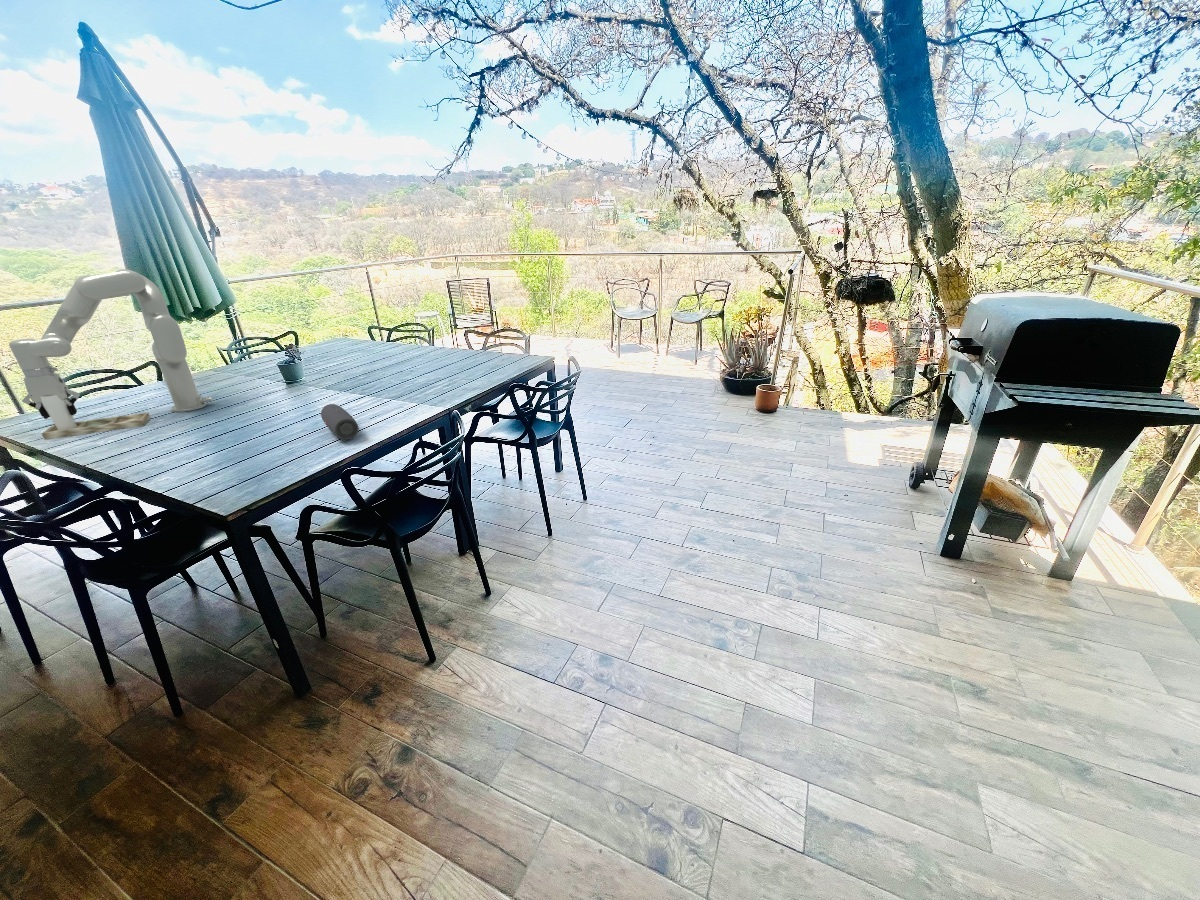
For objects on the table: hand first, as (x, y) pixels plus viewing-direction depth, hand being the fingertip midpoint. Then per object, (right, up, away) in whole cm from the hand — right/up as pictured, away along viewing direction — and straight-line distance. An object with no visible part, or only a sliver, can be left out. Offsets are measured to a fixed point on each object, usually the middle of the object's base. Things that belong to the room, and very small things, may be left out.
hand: (60, 415), depth 189 cm
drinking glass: (0, -6, +3) cm, 6 cm away
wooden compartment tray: (+8, -5, +7) cm, 12 cm away
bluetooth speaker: (+111, -7, +1) cm, 111 cm away
